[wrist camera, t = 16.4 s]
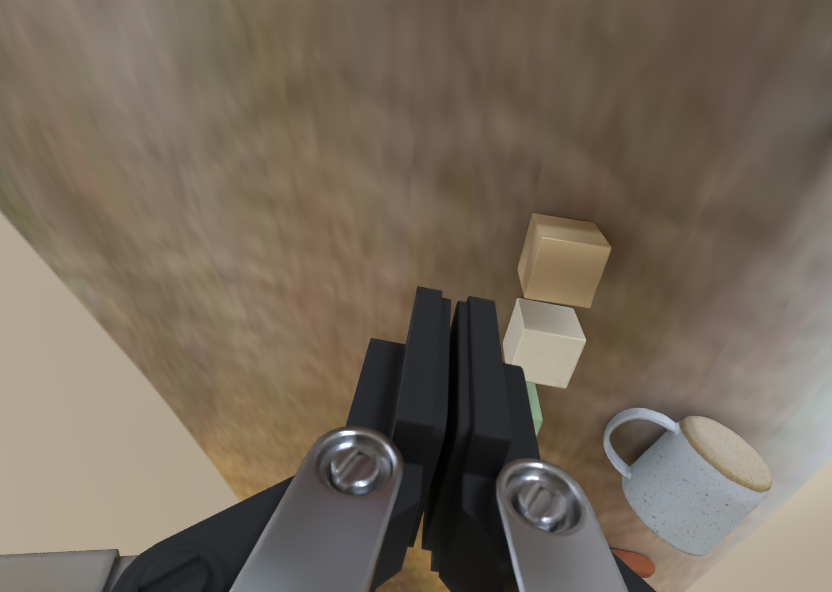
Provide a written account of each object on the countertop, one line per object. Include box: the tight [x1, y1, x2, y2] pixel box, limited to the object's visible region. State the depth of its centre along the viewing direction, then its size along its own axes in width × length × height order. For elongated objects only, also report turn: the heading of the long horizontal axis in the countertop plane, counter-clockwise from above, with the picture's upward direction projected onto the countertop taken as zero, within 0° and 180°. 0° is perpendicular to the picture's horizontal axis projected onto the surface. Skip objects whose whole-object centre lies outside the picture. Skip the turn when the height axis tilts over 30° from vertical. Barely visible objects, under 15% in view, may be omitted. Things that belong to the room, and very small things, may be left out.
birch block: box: [517, 214, 612, 308], centre depth 31 cm, size 4×4×4 cm
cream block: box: [503, 298, 586, 389], centre depth 34 cm, size 4×4×4 cm
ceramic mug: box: [603, 408, 772, 556], centre depth 37 cm, size 11×8×8 cm
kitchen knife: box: [610, 549, 655, 578], centre depth 47 cm, size 16×1×2 cm, turn 76°
